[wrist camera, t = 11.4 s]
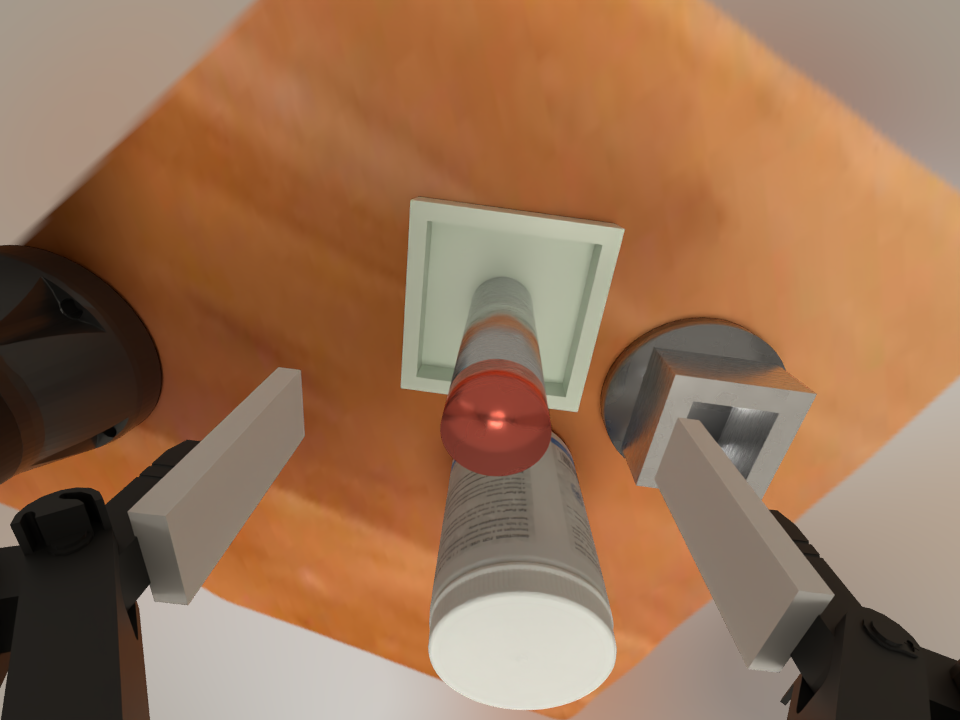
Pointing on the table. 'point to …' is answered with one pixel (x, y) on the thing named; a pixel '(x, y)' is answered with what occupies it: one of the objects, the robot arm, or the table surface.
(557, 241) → the tray
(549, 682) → the supplement tub
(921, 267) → the table surface
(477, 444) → the red capped bottle
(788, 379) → the grey socket fixture
